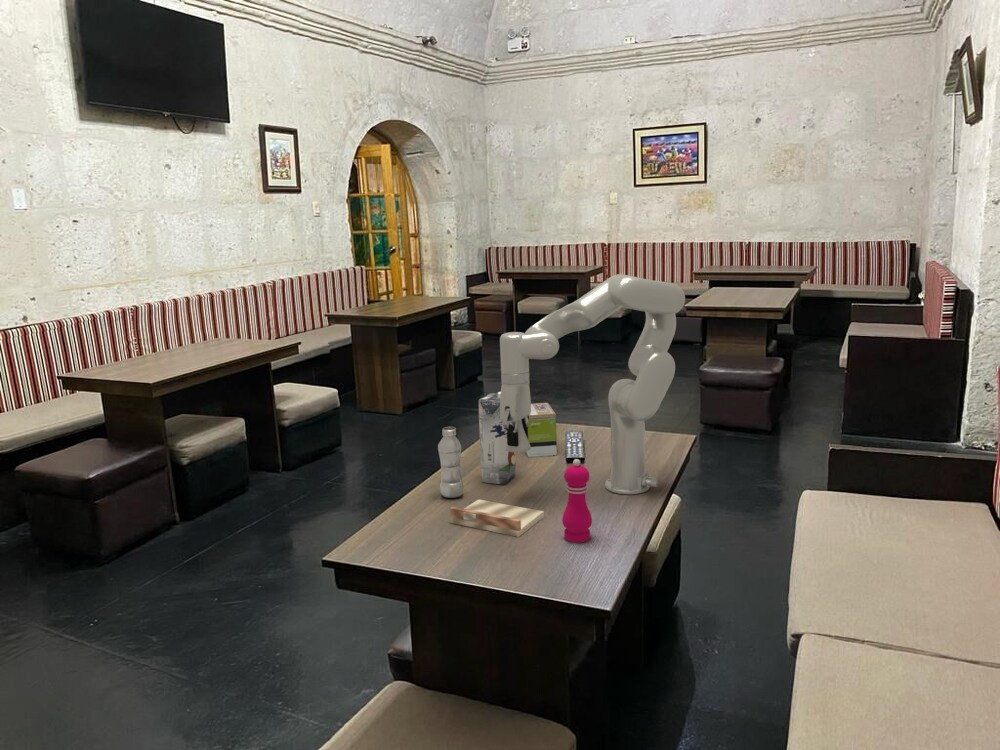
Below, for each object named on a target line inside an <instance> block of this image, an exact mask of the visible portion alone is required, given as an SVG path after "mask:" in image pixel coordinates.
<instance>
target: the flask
mask: <svg viewBox="0 0 1000 750" xmlns="http://www.w3.org/2000/svg"><path fill="white" fill-rule="evenodd" d="M512 421H513V419H512ZM513 425H514V423H512V426H513ZM517 432H518V442H519V446H517V447H515V446H508V445H506V451H510V452H515V453H526V451H528V450H530V449H531V447H530V444H529V441H528V439H527V436H526V434H525V431H524V428H523V425H522V419H521V420H519V421H518V422H517Z"/></svg>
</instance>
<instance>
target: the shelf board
mask: <svg viewBox="0 0 1000 750" xmlns="http://www.w3.org/2000/svg"><path fill="white" fill-rule="evenodd" d="M449 515H450V523H451V524H455V525H460V526H464V527H470V528H474V529H478V530H484V531H487V532H488V531H489V532H494V533H499V534H504V535H508V536H512V537H513V536H514V537H516V538H517V537H518V538H519V537H521V536H522V535H523V534H525V532H527V531H528V530H529V529H530V528H532V527H534V526H535V525H536V524H537V523H538V522H539V521H541V520H542V519H543V518H544V517H545V511H544V510H538V509H532V508H528V507H527V508H526V507H521V506H517V505H511V504H505V503H500V502H494V501H490V500H489V501H488V500H483V499H479V498H478V499H476V500H475V501H473V502H471V504H469V505H467V506H466V507H464V508H461V507H457V506H456V507H455V506H451V507H450V508H449Z"/></svg>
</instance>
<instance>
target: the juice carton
mask: <svg viewBox="0 0 1000 750" xmlns="http://www.w3.org/2000/svg"><path fill="white" fill-rule="evenodd" d="M500 394H501V391H498V392H497V393H495V392H490V393H488V394H487V395H486V396H484V397H481V398H479V399H478V424H479V425H478V428H479V459H480V474H481V481H482V482H483V483H485V484H494V485H505V484H507V483H508V482H509V481H510V480H511V479H512V478H513V477H514V476H516V475H515V473H516V465H517V464H516V463H517V462H516V461H517V459H516V457H517V456H516V452H510V451H506V445H507V432H506V429H505V427H504V426H503V425H502V421H501V419H500ZM510 420H511V421H512V418H510ZM510 424H511V425H512V423H510Z"/></svg>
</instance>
